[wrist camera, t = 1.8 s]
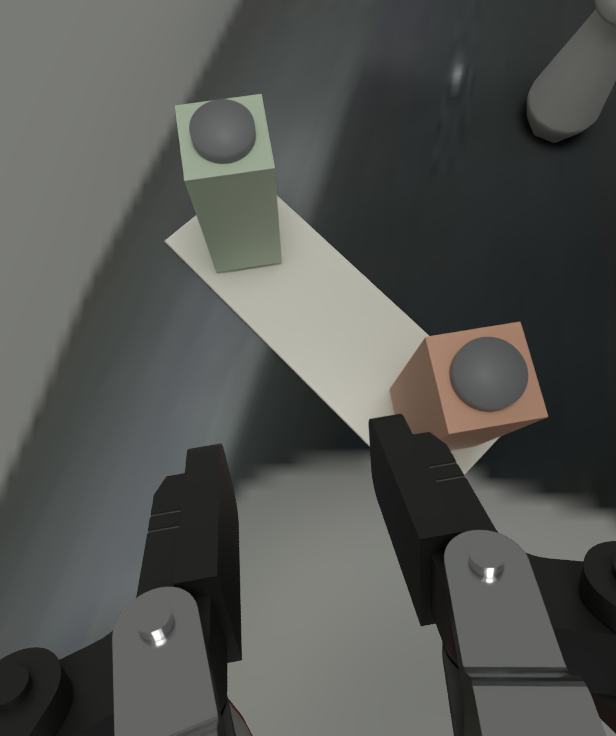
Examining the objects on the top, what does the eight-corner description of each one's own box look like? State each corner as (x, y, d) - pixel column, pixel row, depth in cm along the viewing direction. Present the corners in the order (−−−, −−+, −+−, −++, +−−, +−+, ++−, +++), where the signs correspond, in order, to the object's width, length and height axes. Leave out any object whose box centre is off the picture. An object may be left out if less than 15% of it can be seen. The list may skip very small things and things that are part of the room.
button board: (515, 418, 39) (517, 417, 38) (431, 509, 37) (432, 508, 37) (250, 174, 44) (250, 170, 44) (165, 243, 42) (164, 240, 42)
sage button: (271, 204, 42) (260, 83, 30) (282, 262, 41) (274, 158, 29) (208, 214, 42) (171, 95, 30) (216, 272, 41) (181, 171, 29)
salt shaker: (514, 93, 46) (592, -64, 34) (580, 93, 46) (683, -64, 34) (521, 151, 45) (606, 9, 32) (590, 152, 45) (701, 10, 32)
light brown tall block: (457, 377, 39) (526, 315, 27) (475, 446, 37) (555, 413, 26) (389, 388, 38) (428, 331, 27) (404, 458, 37) (453, 431, 25)
